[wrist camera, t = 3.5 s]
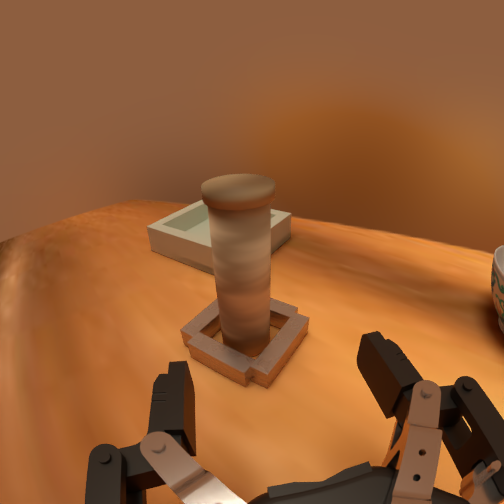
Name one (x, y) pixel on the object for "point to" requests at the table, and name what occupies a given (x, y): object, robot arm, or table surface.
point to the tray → (202, 235)
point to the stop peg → (241, 257)
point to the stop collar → (237, 363)
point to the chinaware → (498, 284)
